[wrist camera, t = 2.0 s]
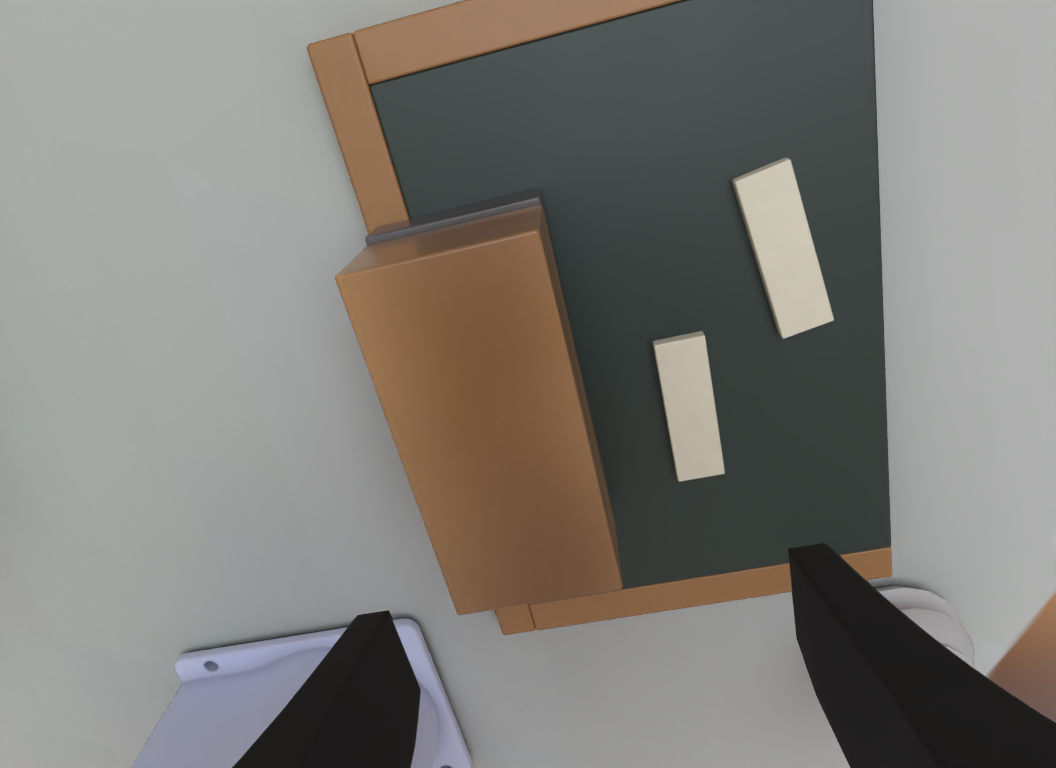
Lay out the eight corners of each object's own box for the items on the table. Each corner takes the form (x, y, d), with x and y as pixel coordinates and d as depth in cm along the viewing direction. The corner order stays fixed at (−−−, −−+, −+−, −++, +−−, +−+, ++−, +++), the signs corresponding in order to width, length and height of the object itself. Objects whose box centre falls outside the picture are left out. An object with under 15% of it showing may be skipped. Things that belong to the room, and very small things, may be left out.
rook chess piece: (863, 561, 23) (1002, 789, 16) (980, 600, 24) (1167, 838, 16) (796, 654, 25) (894, 896, 18) (906, 688, 25) (1045, 938, 18)
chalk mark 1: (722, 467, 21) (725, 474, 21) (676, 475, 21) (678, 482, 21) (702, 330, 19) (705, 335, 19) (652, 340, 19) (653, 345, 19)
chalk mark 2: (829, 315, 19) (834, 321, 18) (778, 334, 19) (782, 339, 19) (786, 156, 17) (791, 158, 17) (730, 179, 17) (734, 181, 17)
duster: (475, 531, 22) (459, 622, 19) (375, 226, 18) (329, 267, 15) (613, 507, 22) (624, 596, 18) (540, 186, 18) (536, 219, 14)
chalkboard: (504, 619, 25) (502, 636, 24) (314, 45, 17) (304, 45, 17) (882, 560, 23) (893, 576, 22) (856, -107, 16) (870, -115, 15)
